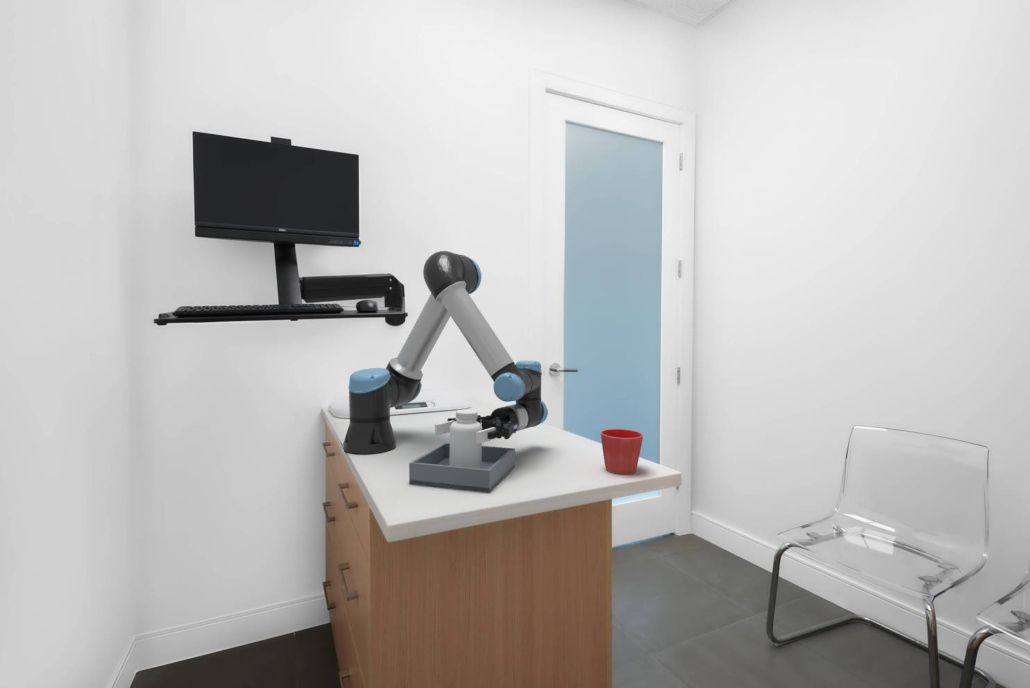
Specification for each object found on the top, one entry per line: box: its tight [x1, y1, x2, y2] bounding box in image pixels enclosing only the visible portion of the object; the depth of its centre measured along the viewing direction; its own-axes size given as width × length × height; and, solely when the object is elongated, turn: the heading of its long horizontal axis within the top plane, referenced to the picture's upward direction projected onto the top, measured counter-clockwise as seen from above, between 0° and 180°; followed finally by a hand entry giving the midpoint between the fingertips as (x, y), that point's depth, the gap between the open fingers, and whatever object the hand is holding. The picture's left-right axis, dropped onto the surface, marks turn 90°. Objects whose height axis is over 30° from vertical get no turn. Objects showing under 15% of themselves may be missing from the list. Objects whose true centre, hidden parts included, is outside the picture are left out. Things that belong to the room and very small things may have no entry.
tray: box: [408, 442, 516, 494], centre depth 124 cm, size 20×20×5 cm
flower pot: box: [600, 428, 644, 475], centre depth 129 cm, size 11×11×10 cm
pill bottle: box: [449, 409, 483, 469], centre depth 123 cm, size 8×8×15 cm
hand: (455, 433), depth 121 cm, fingers open, 13 cm apart
